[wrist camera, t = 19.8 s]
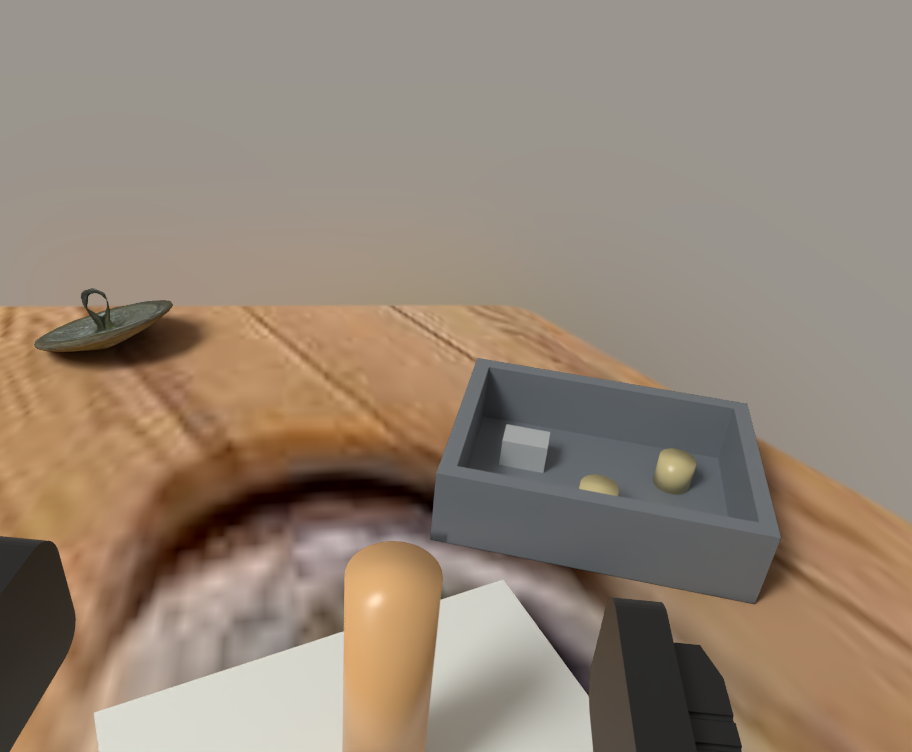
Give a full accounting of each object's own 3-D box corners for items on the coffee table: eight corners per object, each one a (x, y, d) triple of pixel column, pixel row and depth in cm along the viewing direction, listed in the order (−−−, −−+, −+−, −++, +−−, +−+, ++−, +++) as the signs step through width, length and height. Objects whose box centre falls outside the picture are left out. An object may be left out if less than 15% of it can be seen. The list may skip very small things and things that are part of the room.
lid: (95, 395, 57) (84, 335, 54) (7, 353, 61) (-7, 295, 58) (202, 341, 65) (197, 286, 62) (119, 307, 69) (111, 255, 66)
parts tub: (728, 461, 56) (747, 403, 54) (754, 604, 44) (781, 538, 42) (470, 415, 59) (477, 358, 56) (430, 539, 47) (436, 473, 44)
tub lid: (497, 616, 42) (530, 403, 35) (678, 881, 31) (780, 647, 24) (103, 753, 34) (44, 509, 27) (161, 1183, 23) (87, 958, 16)
